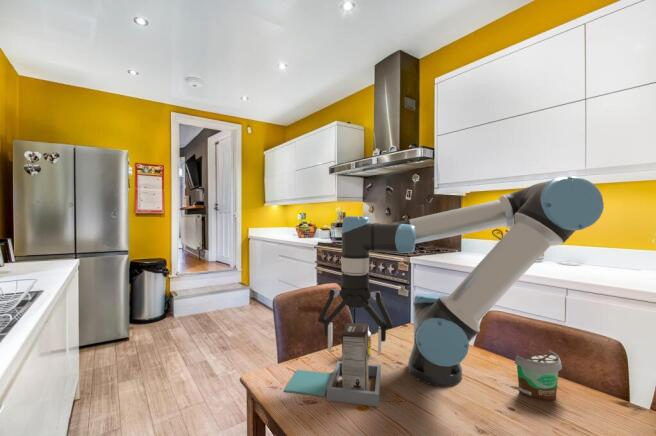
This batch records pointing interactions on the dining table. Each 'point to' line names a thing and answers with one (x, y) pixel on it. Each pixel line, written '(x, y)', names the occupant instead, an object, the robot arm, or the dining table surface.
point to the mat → (309, 382)
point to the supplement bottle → (369, 343)
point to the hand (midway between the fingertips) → (354, 350)
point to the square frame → (352, 394)
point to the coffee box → (355, 356)
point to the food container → (538, 376)
